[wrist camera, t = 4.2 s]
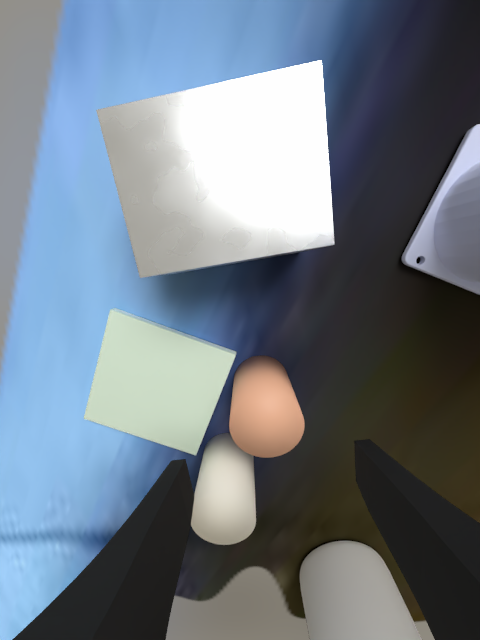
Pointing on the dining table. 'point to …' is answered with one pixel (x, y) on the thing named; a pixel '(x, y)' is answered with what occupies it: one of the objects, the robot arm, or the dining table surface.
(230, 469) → the ivory peg
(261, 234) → the block
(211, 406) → the pad
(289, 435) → the terracotta peg
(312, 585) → the pill bottle
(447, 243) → the robot arm
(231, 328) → the dining table surface
